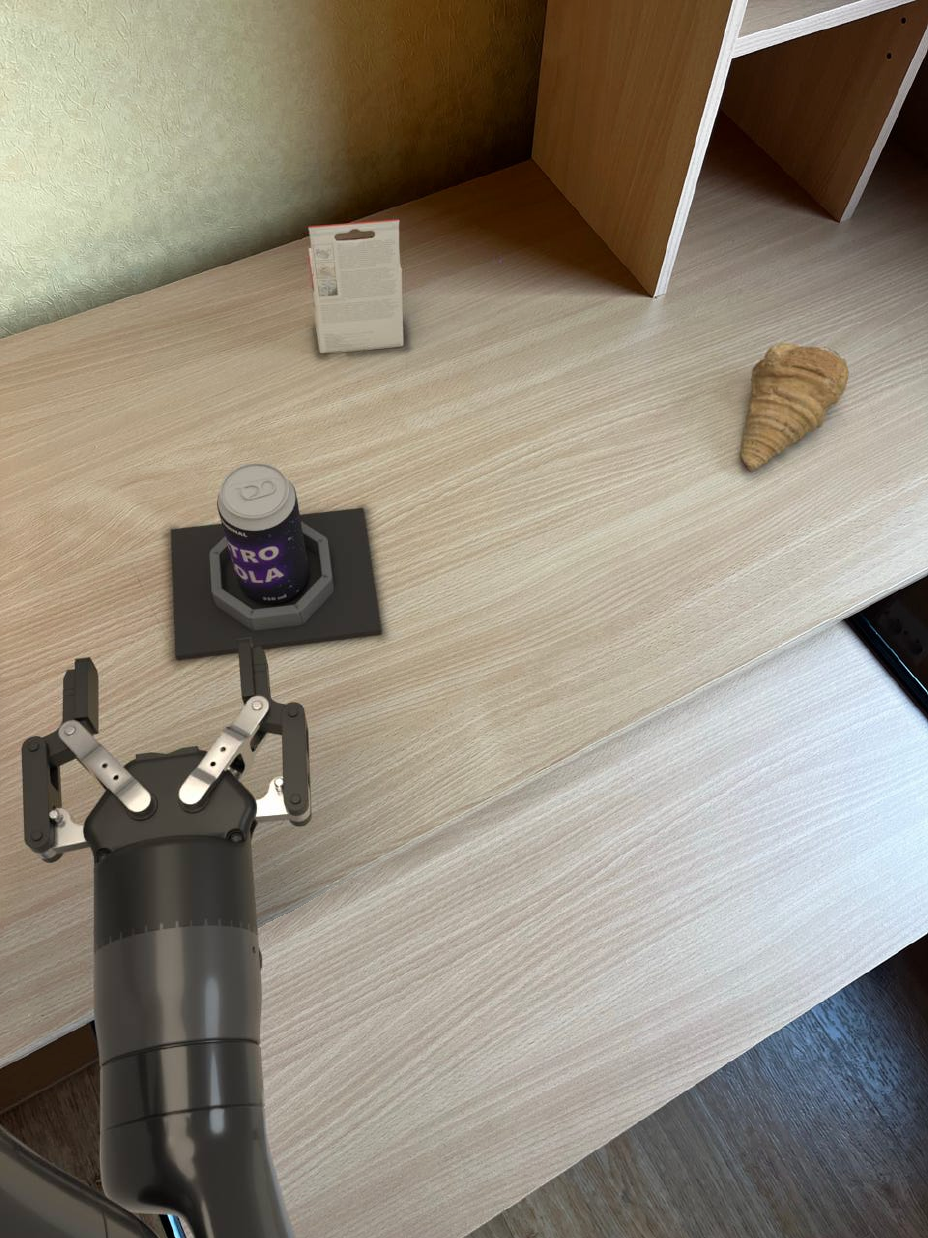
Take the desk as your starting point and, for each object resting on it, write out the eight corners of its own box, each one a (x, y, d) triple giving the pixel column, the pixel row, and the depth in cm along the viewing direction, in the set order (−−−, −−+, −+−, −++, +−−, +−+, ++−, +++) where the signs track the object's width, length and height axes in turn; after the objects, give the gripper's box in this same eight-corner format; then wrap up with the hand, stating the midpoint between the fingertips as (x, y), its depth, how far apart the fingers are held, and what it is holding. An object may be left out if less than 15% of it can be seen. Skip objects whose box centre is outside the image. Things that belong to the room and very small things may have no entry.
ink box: (316, 328, 100) (301, 198, 88) (399, 321, 101) (396, 191, 89) (319, 356, 99) (305, 228, 86) (404, 349, 99) (402, 221, 87)
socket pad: (177, 660, 82) (169, 643, 80) (172, 534, 88) (165, 514, 86) (381, 634, 84) (380, 617, 82) (363, 512, 90) (362, 492, 88)
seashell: (742, 491, 98) (827, 498, 93) (710, 450, 92) (799, 456, 87) (783, 360, 100) (868, 360, 96) (754, 312, 94) (844, 309, 89)
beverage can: (230, 562, 86) (204, 471, 76) (296, 541, 87) (280, 448, 77) (251, 618, 83) (227, 532, 73) (319, 596, 85) (305, 507, 74)
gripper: (323, 910, 47) (291, 602, 55) (-7, 963, 46) (8, 637, 54) (333, 948, 54) (303, 668, 62) (45, 995, 52) (52, 700, 60)
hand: (166, 654), depth 58 cm, fingers open, 8 cm apart
